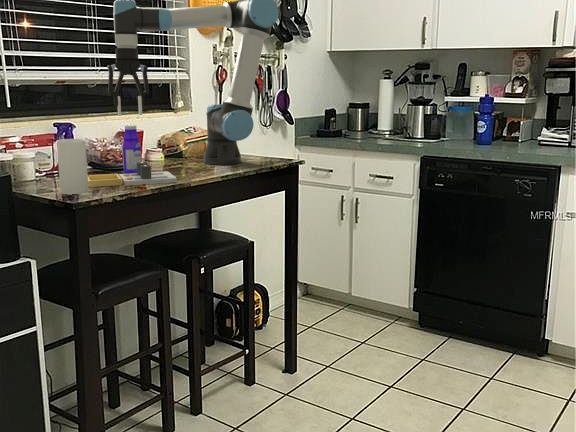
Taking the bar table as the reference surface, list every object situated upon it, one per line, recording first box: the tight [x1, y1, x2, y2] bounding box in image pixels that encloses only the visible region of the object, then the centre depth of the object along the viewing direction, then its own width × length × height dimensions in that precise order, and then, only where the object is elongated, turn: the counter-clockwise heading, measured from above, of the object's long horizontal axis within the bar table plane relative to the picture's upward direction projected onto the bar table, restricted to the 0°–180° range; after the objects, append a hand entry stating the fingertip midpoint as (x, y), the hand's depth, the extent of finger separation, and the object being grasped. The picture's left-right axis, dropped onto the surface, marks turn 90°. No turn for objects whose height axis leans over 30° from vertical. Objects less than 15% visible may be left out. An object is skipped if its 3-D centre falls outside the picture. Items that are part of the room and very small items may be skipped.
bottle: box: [122, 124, 143, 174], centre depth 223 cm, size 7×6×17 cm
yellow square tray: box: [88, 173, 123, 188], centre depth 207 cm, size 11×11×2 cm
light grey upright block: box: [56, 138, 90, 196], centre depth 191 cm, size 8×8×16 cm
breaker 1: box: [137, 161, 148, 175], centre depth 214 cm, size 3×3×4 cm
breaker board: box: [118, 171, 178, 187], centre depth 213 cm, size 17×14×2 cm
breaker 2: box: [140, 164, 152, 179], centre depth 208 cm, size 3×3×4 cm
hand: (130, 115), depth 220 cm, fingers open, 7 cm apart
